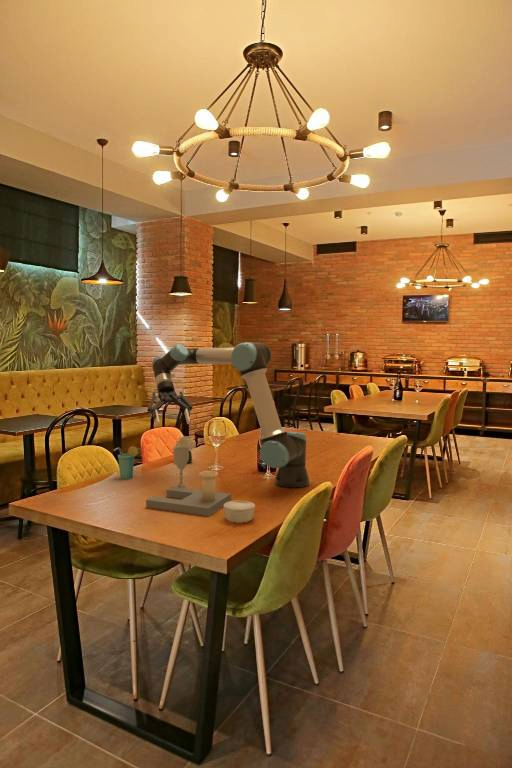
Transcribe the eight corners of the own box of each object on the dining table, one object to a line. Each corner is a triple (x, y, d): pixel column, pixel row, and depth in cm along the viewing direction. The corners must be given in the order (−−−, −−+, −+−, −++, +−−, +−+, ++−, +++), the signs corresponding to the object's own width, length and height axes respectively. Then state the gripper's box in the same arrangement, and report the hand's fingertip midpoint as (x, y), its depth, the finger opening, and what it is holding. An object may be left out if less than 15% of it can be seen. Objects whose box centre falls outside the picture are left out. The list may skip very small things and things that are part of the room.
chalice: (175, 492, 227) (175, 449, 225) (170, 488, 233) (170, 446, 231) (192, 490, 230) (192, 448, 229) (186, 486, 236) (186, 445, 235)
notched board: (231, 501, 216) (231, 468, 214) (208, 516, 197) (208, 480, 196) (172, 493, 225) (172, 462, 224) (146, 507, 206) (146, 473, 205)
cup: (120, 483, 240) (119, 449, 239) (107, 480, 244) (106, 447, 243) (142, 476, 252) (142, 444, 251) (129, 474, 256) (129, 442, 255)
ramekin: (254, 514, 201) (254, 500, 200) (255, 524, 190) (255, 509, 189) (223, 514, 200) (223, 499, 200) (222, 524, 189) (223, 509, 189)
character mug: (198, 462, 283) (198, 437, 282) (192, 465, 276) (192, 439, 275) (179, 460, 286) (179, 435, 285) (173, 463, 280) (173, 437, 278)
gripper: (189, 390, 259) (199, 426, 247) (136, 391, 249) (143, 429, 237) (193, 379, 254) (202, 416, 241) (138, 380, 244) (146, 419, 231)
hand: (173, 423), depth 239 cm, fingers open, 13 cm apart
